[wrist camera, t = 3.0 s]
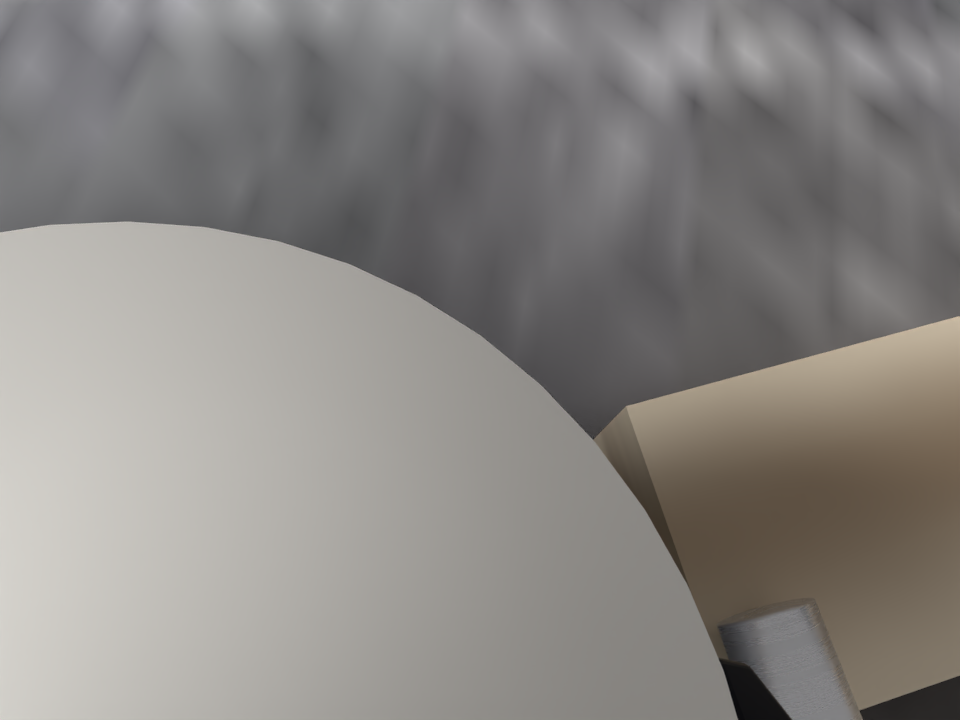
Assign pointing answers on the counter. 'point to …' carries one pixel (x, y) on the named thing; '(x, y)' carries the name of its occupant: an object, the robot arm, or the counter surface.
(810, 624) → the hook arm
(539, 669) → the white teal rounded cylinder
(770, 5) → the counter surface
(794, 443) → the light wood flat tray
